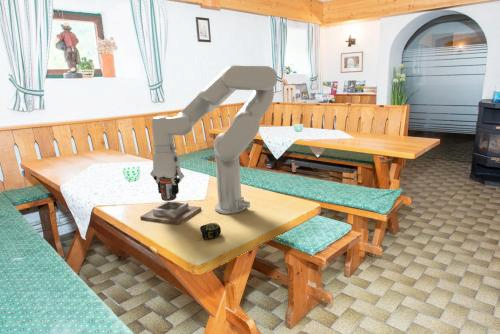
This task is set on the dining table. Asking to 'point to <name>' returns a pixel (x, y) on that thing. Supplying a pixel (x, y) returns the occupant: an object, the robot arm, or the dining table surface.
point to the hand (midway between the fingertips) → (168, 192)
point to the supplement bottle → (166, 189)
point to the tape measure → (210, 230)
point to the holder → (171, 213)
